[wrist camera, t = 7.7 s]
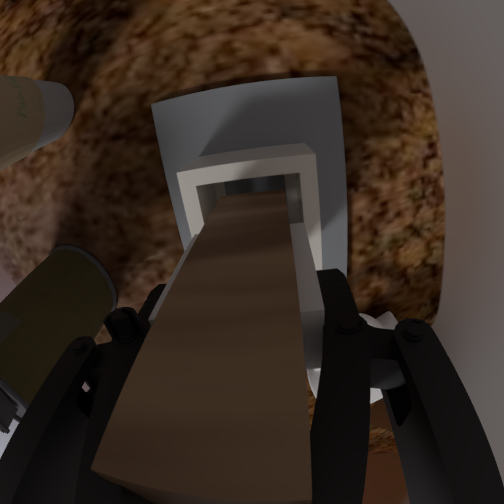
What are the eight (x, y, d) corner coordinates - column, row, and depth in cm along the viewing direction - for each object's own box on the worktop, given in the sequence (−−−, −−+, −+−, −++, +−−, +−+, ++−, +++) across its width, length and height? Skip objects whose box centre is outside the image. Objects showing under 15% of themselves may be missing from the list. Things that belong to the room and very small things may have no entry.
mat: (154, 104, 19) (151, 104, 19) (334, 77, 18) (336, 76, 17) (200, 293, 28) (198, 298, 27) (344, 280, 26) (346, 285, 25)
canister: (98, 240, 26) (-31, 392, 8) (129, 320, 31) (57, 470, 13) (34, 248, 27) (-71, 358, 9) (66, 316, 32) (-7, 431, 14)
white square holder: (198, 156, 21) (176, 172, 16) (304, 142, 20) (315, 153, 15) (217, 249, 24) (204, 286, 20) (312, 239, 23) (322, 276, 19)
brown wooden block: (219, 196, 18) (90, 469, 3) (284, 188, 17) (311, 499, 3) (231, 253, 19) (167, 511, 5) (290, 247, 19) (307, 521, 5)
